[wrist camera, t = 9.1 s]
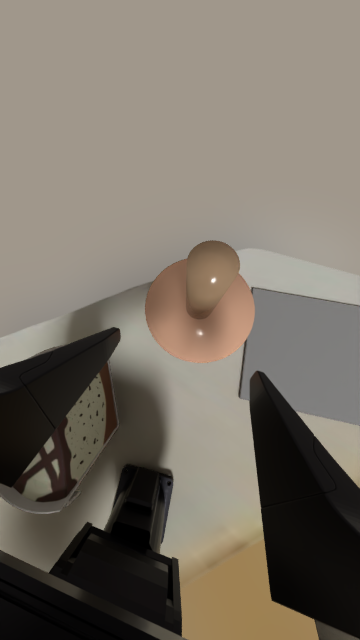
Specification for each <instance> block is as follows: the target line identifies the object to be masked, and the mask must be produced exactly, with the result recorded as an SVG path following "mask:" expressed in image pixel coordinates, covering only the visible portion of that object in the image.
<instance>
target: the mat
mask: <svg viewBox="0 0 360 640" xmlns="http://www.w3.org/2000/svg"><path fill="white" fill-rule="evenodd" d="M252 296H253V299H254V305H255V317H254V323H253V326H252V329H251V331H250V334H249V335H248V337H247V339H246V345H245V354H244V362H243V370H242V379H241V387H240V395H239V398H240V399H244V400H249V401H250V378H251V377H252V375H253V374H254V373H255V371H261V372H264V373H265V374H266V376H267V377H268V378H269V379H270V381H271V382H272V383H273V384H274V386H275V387H276V388H277V389H278V390H279V392H280V393H281V394H282V395H283V397H284V398H285V399H286V400H287V402H288V403H289V404H290V405H291V407H292V408H293V409H294V410H295V411H297V412H302V413H306V414H311V415H315V416H320V417H324V418H328V419H333V420H337V421H342V422H346V423H350V424H355V425H359V426H360V306H354V305H348V304H342V303H337V302H331V301H325V300H319V299H313V298H308V297H302V296H296V295H290V294H285V293H279V292H273V291H267V290H262V289H256V288H253V289H252Z"/></svg>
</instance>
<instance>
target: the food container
mask: <svg viewBox="0 0 360 640" xmlns="http://www.w3.org/2000/svg"><path fill="white" fill-rule="evenodd" d="M62 346H65V345H62ZM62 346H57V347H53V348H50V349H47V350H44V351H42V352H40V353H38V354H36V355H34V356H32V357H35V356H38V355H41V354H44V353H46V352H49V351H52V350H54V349H57V348H60V347H62ZM32 357H30V358H32ZM28 359H29V358H28ZM118 427H119V420H118V413H117V407H116V401H115V394H114V388H113V381H112V375H111V369H110V362H109V360H108V361H107V363H106V364H105V365H104V367H103V368H102V369H101V371H100V372H99V373H98V375H97V376H96V377H95V378H94V380H93V381H92V382H91V384H90V385H89V386H88V388H87V389H86V390H85V392H84V393H83V394H82V396H81V397H80V398H79V400H78V401H77V402H76V404H75V405H74V406H73V408H72V409H71V410H70V411H69V413H68V414H67V415H66V417H65V418H64V419H63V421H62V422H61V423H60V425H59V426H58V427H57V429H55V431H54V433H53V434H52V435H51V437H50V438H49V439H48V441H47V442H46V443H45V445H44V446H43V447H42V449H41V450H40V451H39V453H38V454H37V455H36V457H35V458H34V459H33V460H32V462H31V463H30V464H29V466H28V467H27V468H26V470H25V471H24V472H23V474H22V475H21V476H20V478H19V479H18V480H17V482H16V483H15V484H14V485H13V486H12V488H10V487H7V486H5V485H2V484H0V496H1V497H2V498H3V499H4V500H5V501H6V502H8V503H9V504H10V505H12V506H14V507H16V508H18V509H20V510H22V511H26V512H30V513H35V514H50V513H55V512H60V511H61V510H62V508H63V507H67V506H68V505H69V504H70V503H71V502H72V501H73V500H74V499H75V498H76V497H78V496H79V495H80V494H81V491H77V492H75V490H76V489H77V487H78V486H79V484H80V483H81V481H82V480H83V478H84V477H85V475H86V474H87V472H88V471H89V470H90V468H91V467H92V465H93V464H94V462H95V461H96V459H97V458H98V456H99V455H100V453H101V452H102V450H103V449H104V447H105V446H106V445H107V443H108V442H109V440H110V439H111V437H112V436H113V434H114V433H115V431H116V430H117V428H118Z"/></svg>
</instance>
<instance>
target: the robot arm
mask: <svg viewBox="0 0 360 640" xmlns="http://www.w3.org/2000/svg"><path fill="white" fill-rule="evenodd" d="M120 338H121V337H120V329H119V328H115V327H113V328H110V329H107V330H105V331H102V332H99V333H97V334H94V335H91V336H89V337H86V338H83V339H81V340H78V341H75V342H73V343H70V344H68V345H65V346H62V347H60V348H57V349H54V350H52V351H49V352H46V353H44V354H41V355H38V356H35V357H32V358H29V359H26V360H23V361H20V362H17V363H14V364H11V365H8V366H4V367H1V368H0V484H2V485H5V486H7V487H10V488H12V486H13V485H14V484H15V483H16V482H17V480H18V479H19V478H20V476H21V475H22V474H23V472H24V471H25V470H26V468H27V467H28V466H29V464H30V463H31V462H32V460H33V459H34V458H35V457H36V455H37V454H38V453H39V451H40V450H41V449H42V447H43V446H44V445H45V443H46V442H47V441H48V439H49V438H50V437H51V435H52V434H53V433H54V431H55V429H57V427H58V426H59V425H60V423H61V422H62V421H63V419H64V418H65V417H66V415H67V414H68V413H69V411H70V410H71V409H72V408H73V406H74V405H75V404H76V402H77V401H78V400H79V398H80V397H81V396H82V394H83V393H84V392H85V390H86V389H87V388H88V386H89V385H90V384H91V382H92V381H93V380H94V378H95V377H96V376H97V375H98V373H99V372H100V371H101V369H102V368H103V367H104V365H105V364H106V363H107V361H108V360H109V358H110V357H111V355H112V353H113V352H114V350H115V348H116V347H117V345H118V343H119V342H120ZM250 415H251V424H252V433H253V441H254V450H255V459H256V468H257V477H258V486H259V495H260V504H261V514H262V523H263V532H264V541H265V550H266V559H267V567H268V575H269V585H270V593H271V599H272V601H274V602H276V603H279V604H281V605H283V606H285V607H287V608H290V609H292V610H294V611H296V612H299V613H301V614H303V615H306V616H308V617H310V618H312V619H314V620H315V624H316V628H317V632H318V637H319V640H360V488H359V487H358V486H357V485H356V484H355V483H354V482H353V480H352V479H351V478H350V477H349V476H348V475H347V474H346V472H345V471H344V470H343V469H342V468H341V467H340V466H339V464H338V463H337V462H336V461H335V460H334V459H333V457H332V456H331V455H330V454H329V453H328V451H327V450H326V449H325V448H324V446H323V445H322V444H321V443H320V442H319V440H318V439H317V438H316V437H315V436H314V434H313V433H312V432H311V430H310V429H309V428H308V427H307V425H306V424H305V423H304V422H303V420H302V419H301V418H300V417H299V415H298V414H297V413H296V412H295V410H294V409H293V408H292V407H291V405H290V404H289V403H288V402H287V400H286V399H285V398H284V397H283V395H282V394H281V393H280V392H279V390H278V389H277V388H276V387H275V386H274V384H273V383H272V382H271V381H270V379H269V378H268V377H267V376H266V374H265V373H264V372H261V371H255V373H254V374H253V375H252V377H251V378H250ZM125 469H127V470H128V471H126V470H125ZM168 481H170V482H171V483H168ZM172 488H173V478H172V477H171V476H168V475H165V474H161V473H158V472H156V471H152V470H148V469H145V468H141V467H135V466H132V465H125V466H124V468H123V470H122V473H121V478H120V482H119V486H118V490H117V495H116V499H115V503H114V507H113V511H112V513H111V515H110V517H109V520H108V522H107V524H106V526H105V528H104V531H103V530H101V529H98V528H96V527H94V526H92V523H89V522H87V523H86V524H85V525H84V527H83V528H82V529H81V531H79V532H78V534H77V535H76V536H75V538H74V539H73V540H72V542H71V543H70V544H69V546H68V547H67V548H66V550H65V551H64V553H63V554H62V555H61V557H60V558H59V559H58V561H57V562H56V563H55V565H54V566H53V568H52V569H51V570H50V572H49V573H47V572H45V571H43V570H41V569H38V568H36V567H34V566H32V565H30V564H28V563H26V562H24V561H22V560H20V559H18V558H15V557H13V556H11V555H9V554H7V553H5V552H3V551H1V550H0V640H187V639H185V638H183V637H182V616H181V615H182V614H181V613H182V612H181V597H180V581H179V565H178V559H176V558H174V557H172V559H171V558H168V557H166V556H164V555H161V554H160V546H161V544H162V542H163V538H164V533H165V527H166V522H167V516H168V510H169V505H170V499H171V494H172Z"/></svg>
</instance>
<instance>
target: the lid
mask: <svg viewBox="0 0 360 640" xmlns="http://www.w3.org/2000/svg"><path fill="white" fill-rule="evenodd" d="M239 269H240V261H239V257H238V255H237V253H236V252H235V251H234V249H232V248H231V247H230V246H229V245H227V244H226V243H223V242H220V241H206V242H202V243H200V244H198V245H197V246H195V247H194V248H193V249H192V250H191V252H190V254H189V255H188V258H187V259H184V260H181V261H178V262H176V263H174V264H172V265H170V266H168V267H167V268H166V269H164V270H163V271H162V272H161V273H160V274H159V275H158V276H157V277H156V279H155V280H154V281H153V283H152V285H151V287H150V289H149V291H148V294H147V298H146V304H145V315H146V321H147V324H148V327H149V330H150V332H151V334H152V336H153V337H154V339H155V340H156V341H157V343H158V344H159V345H160V346H161V347H162V348H163V349H164V350H165V351H167V352H168V353H170V354H171V355H173V356H175V357H177V358H179V359H182V360H185V361H189V362H196V363H208V362H213V361H217V360H220V359H223V358H225V357H227V356H229V355H230V354H232V353H233V352H235V351H236V350H237V349H238V348H239V347H240V346H241V345H242V344H243V343H244V342H245V340H246V339H247V337H248V335H249V334H250V331H251V329H252V326H253V323H254V317H255V305H254V299H253V296H252V293H251V290H250V288H249V286H248V285H247V283H246V281H245V280H244V279H243V278H242V276H241V275H240V274H239Z"/></svg>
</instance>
